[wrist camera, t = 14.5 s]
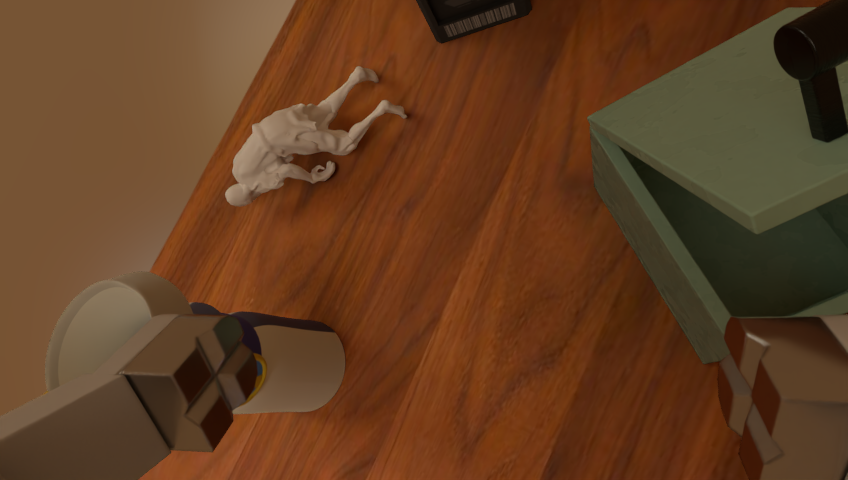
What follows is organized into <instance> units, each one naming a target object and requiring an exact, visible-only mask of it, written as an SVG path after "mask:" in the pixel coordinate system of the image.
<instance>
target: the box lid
mask: <svg viewBox="0 0 848 480" xmlns="http://www.w3.org/2000/svg"><path fill="white" fill-rule="evenodd" d="M587 119H588V121H589V124H590V126H591V128H592V129H594V130H595V131H597V132H598V133H600V134H602V135H603V136H605V137H606V138H608V139H609V140H611V141H612V142H614V143H615V144H617V145H619V146H620V147H622V148H623V149H625V150H626V151H628V152H629V153H631V154H632V155H634V156H636V157H637V158H639V159H640V160H642V161H643V162H645V163H646V164H648V165H650V166H651V167H653V168H654V169H656V170H657V171H659V172H660V173H662V174H663V175H665V176H667V177H668V178H670V179H671V180H673V181H674V182H676V183H677V184H679V185H680V186H682V187H684V188H685V189H687V190H688V191H690V192H691V193H693V194H694V195H696V196H697V197H699V198H701V199H702V200H704V201H705V202H707V203H708V204H710V205H711V206H713V207H715V208H716V209H718V210H719V211H721V212H722V213H724V214H725V215H727V216H728V217H730V218H732V219H733V220H735V221H736V222H738V223H739V224H741V225H742V226H744V227H745V228H747V229H749V230H750V231H752V232H753V233H755V234H760V233H762V232H765V231H767V230H769V229H771V228H773V227H775V226H778V225H780V224H782V223H784V222H786V221H788V220H791V219H793V218H795V217H797V216H799V215H802V214H804V213H806V212H808V211H810V210H812V209H815V208H817V207H819V206H821V205H823V204H825V203H828V202H830V201H832V200H834V199H836V198H839V197H841V196H843V195H845V194H847V193H848V0H830V1H828V2H826V3H824V4H822V5H820V6H819V7H805V8H786V9H784V10H783V11H781V12H779V13H777V14H775V15H773V16H772V17H770V18H768V19H766V20H764V21H762V22H761V23H759V24H757V25H755V26H753V27H751V28H750V29H748V30H746V31H744V32H742V33H740V34H739V35H737V36H735V37H733V38H731V39H729V40H728V41H726V42H724V43H722V44H720V45H718V46H717V47H715V48H713V49H711V50H709V51H707V52H705V53H704V54H702V55H700V56H698V57H696V58H694V59H693V60H691V61H689V62H687V63H685V64H683V65H682V66H680V67H678V68H676V69H674V70H672V71H671V72H669V73H667V74H665V75H663V76H661V77H660V78H658V79H656V80H654V81H652V82H650V83H649V84H647V85H645V86H643V87H641V88H639V89H638V90H636V91H634V92H632V93H630V94H628V95H626V96H625V97H623V98H621V99H619V100H617V101H615V102H614V103H612V104H610V105H608V106H606V107H604V108H603V109H601V110H599V111H597V112H595V113H593V114H592V115H590V116H588V117H587Z"/></svg>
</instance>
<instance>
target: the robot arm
mask: <svg viewBox="0 0 848 480" xmlns="http://www.w3.org/2000/svg"><path fill="white" fill-rule="evenodd" d="M243 335H244V330H243V328H242V326H241V324H240V322H239V320H238V318H235V317H233V316H230V315H207V314H161V315H158V316H154V317H153V318H152V319H150V320H149V321H148V322H147V323H146V324H145V325H144V326H143V327H142V328H141V329H140V330H139V331H138V332H137V333H135V334H134V335H133V336H132V337H131V338H130V339H129V340H128V341H127V342H126V343H125V344H124V345H123V346H122V347H120V348H119V349H118V350H117V351H116V352H115V353H114V354H113V355H112V356H111V357H110V358H109V359H108V360H107V361H105V362H104V363H103V364H102V365H101V366H100V367H99V368H98V369H97V370H96V371H95V372H94V373H93V374H88V373H85V374H83V375H81V376H79V377H77V378H75V379H73V380H71V381H69V382H67V383H65V384H63V385H61V386H60V387H58V388H56V389H54V390H52V391H50V392H48V393H46V394H44V395H42V396H40V397H38V398H36V399H34V400H32V401H30V402H28V403H26V404H24V405H22V406H20V407H18V408H16V409H14V410H12V411H10V412H8V413H6V414H4V415H2V416H0V480H138V479H139V478H140V477H142V476H143V475H144V474H145V473H147V472H148V471H149V470H150V469H152V468H153V467H154V466H155V465H157V464H158V463H159V462H160V461H161V460H163V459H164V458H165V457H166V456H168V455H169V454H170V453H171V451H170V450H179V451H198V452H213V451H214V450H215V448H216V447H217V445H218V444H219V442H220V441H221V439H222V438H223V436H224V434H225V433H226V431H227V430H228V428H229V427H230V425H231V424H232V422H233V410H234V409H236V408H237V407H239V406H240V405H241V404H243V403H244V402H246V401H247V399H248V398H249V396H250V394H251V393H252V391H253V390H254V387H255V383H256V378H257V374H258V371H257V362H256V359H255V356H254V354H253V351H252V350H251V349H250V348H248V347H247V346H246V345H245V344H244V343H242V342H241V341H242V338H243ZM724 340H725V342H726V344H727V347H728V349H729V351H730V353H729V354H728V355H727V356H726V357H725V358H723V359H722V360H721V361H720V363H719V370H718V378H717V381H718V396H719V401H720V405H721V409H722V413H723V415H724V418H725V421H726V423H727V426H728V427H729V428H730V429H731V430H733V431H734V432H735V433H737V434H738V435H739V436H740V437H742V439H741V443H740V448H739V453H738V454H739V456H740V459H741V461H742V464H743V466H744V469H745V471H746V474H747V476H748V479H749V480H848V315H813V316H812V317H811V316H731V317H730V319H729V321H728V322H727V324H726V329H725V334H724Z"/></svg>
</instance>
